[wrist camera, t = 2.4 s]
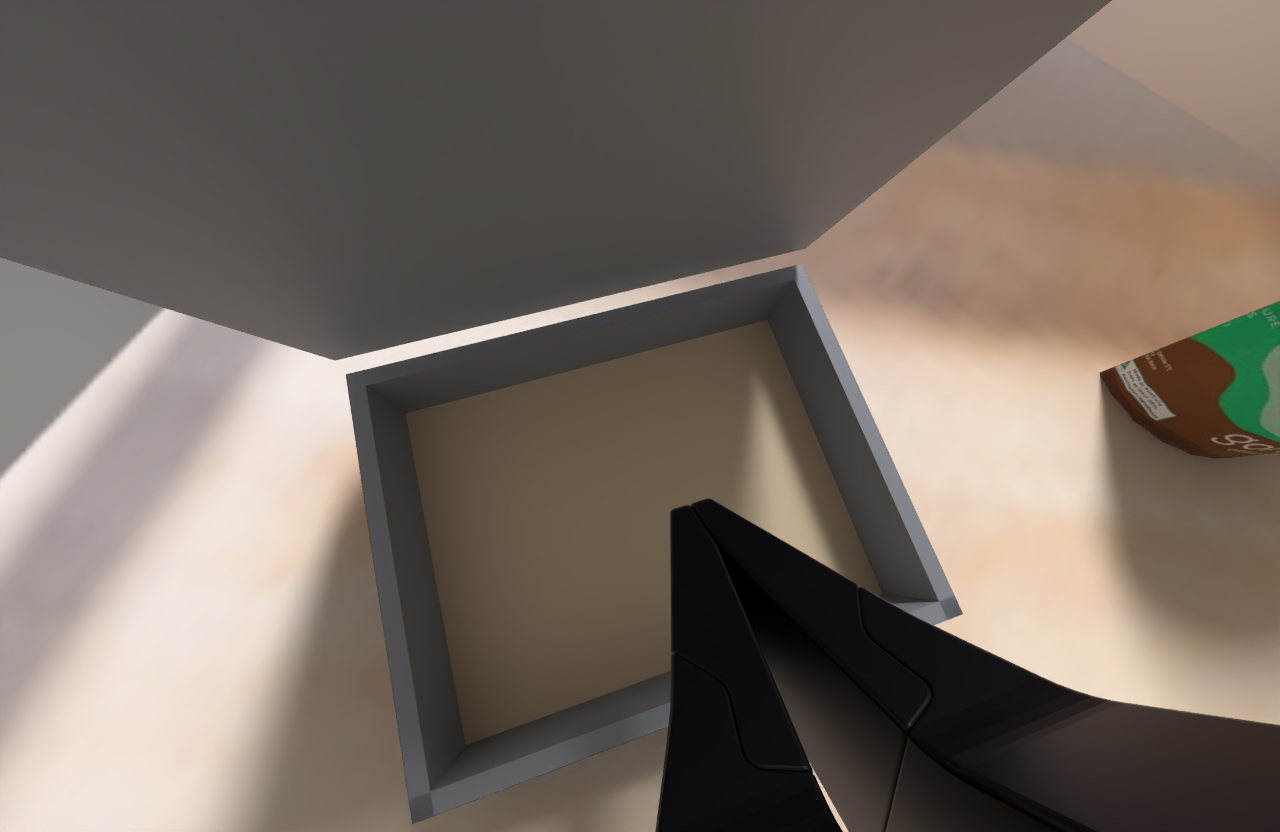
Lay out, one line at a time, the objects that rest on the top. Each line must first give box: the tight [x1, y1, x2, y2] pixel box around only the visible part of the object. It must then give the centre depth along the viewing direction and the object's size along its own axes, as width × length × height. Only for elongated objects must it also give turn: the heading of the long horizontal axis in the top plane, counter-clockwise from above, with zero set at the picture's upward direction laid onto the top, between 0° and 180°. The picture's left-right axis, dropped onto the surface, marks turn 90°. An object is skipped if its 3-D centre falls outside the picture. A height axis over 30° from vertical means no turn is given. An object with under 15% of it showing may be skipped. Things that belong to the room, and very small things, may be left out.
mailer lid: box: [0, 0, 1111, 360], centre depth 10 cm, size 14×18×1 cm
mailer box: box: [346, 264, 963, 824], centre depth 18 cm, size 14×18×4 cm
